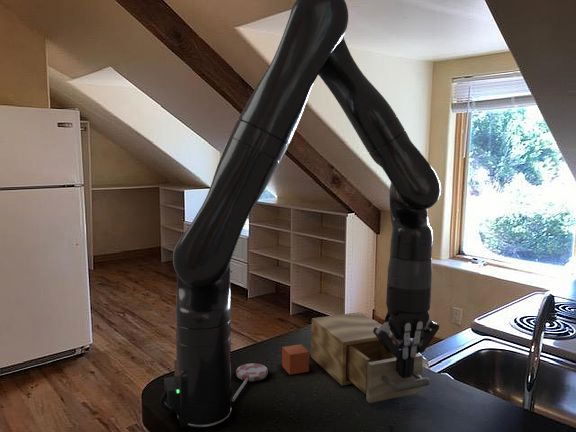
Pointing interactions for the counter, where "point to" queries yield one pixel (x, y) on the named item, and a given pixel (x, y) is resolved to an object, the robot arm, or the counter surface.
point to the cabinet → (339, 340)
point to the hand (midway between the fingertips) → (404, 375)
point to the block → (295, 359)
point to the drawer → (381, 372)
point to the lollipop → (250, 375)
